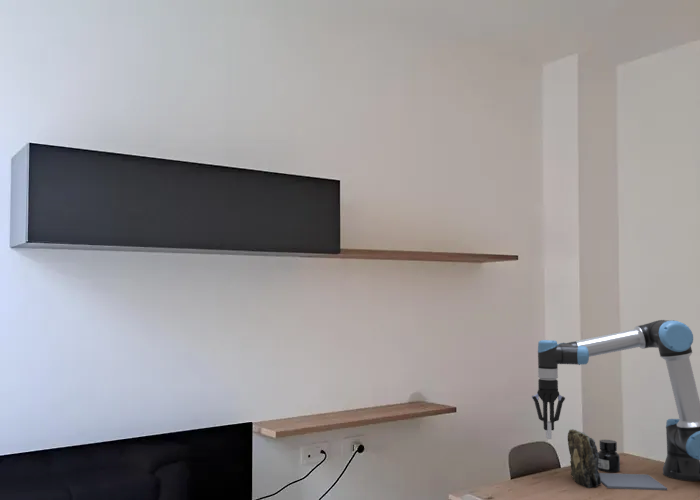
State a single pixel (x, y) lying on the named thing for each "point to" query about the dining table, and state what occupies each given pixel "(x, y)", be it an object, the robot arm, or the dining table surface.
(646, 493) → the dining table surface
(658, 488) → the rubber mat
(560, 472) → the dining table surface
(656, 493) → the dining table surface
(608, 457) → the ink bottle
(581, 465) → the stone block
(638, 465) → the dining table surface
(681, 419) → the robot arm
